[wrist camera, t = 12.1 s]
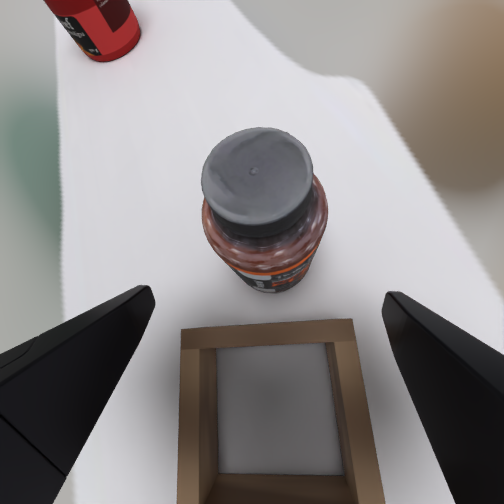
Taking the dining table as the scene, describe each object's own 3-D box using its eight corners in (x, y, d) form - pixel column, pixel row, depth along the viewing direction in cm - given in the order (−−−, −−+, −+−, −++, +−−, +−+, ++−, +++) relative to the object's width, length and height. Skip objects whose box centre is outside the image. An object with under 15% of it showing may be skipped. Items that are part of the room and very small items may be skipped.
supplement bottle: (282, 310, 17) (275, 294, 7) (222, 266, 19) (138, 198, 8) (325, 246, 18) (379, 143, 8) (263, 210, 20) (236, 83, 9)
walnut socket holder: (369, 501, 14) (395, 560, 10) (200, 496, 15) (175, 546, 12) (339, 318, 17) (352, 318, 13) (200, 327, 18) (181, 329, 15)
